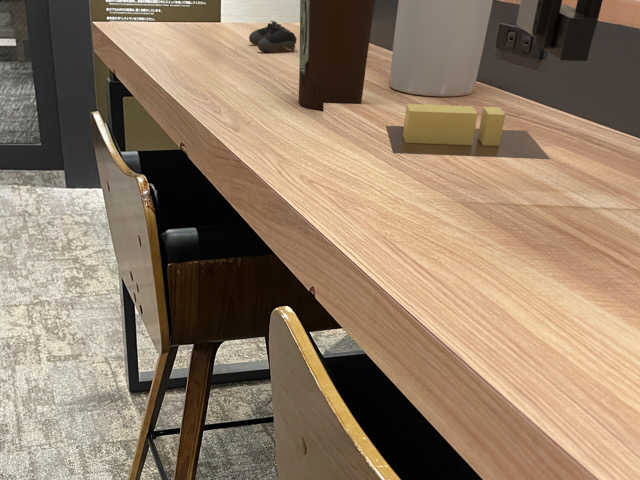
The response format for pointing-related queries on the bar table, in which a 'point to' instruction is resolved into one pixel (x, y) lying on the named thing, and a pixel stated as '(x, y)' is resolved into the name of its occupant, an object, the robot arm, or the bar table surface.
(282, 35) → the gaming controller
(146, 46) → the bar table surface
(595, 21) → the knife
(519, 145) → the cutting board
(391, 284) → the bar table surface
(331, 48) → the olive oil
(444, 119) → the butter block
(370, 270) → the bar table surface
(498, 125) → the butter slice
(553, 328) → the bar table surface
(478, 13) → the utensil holder
